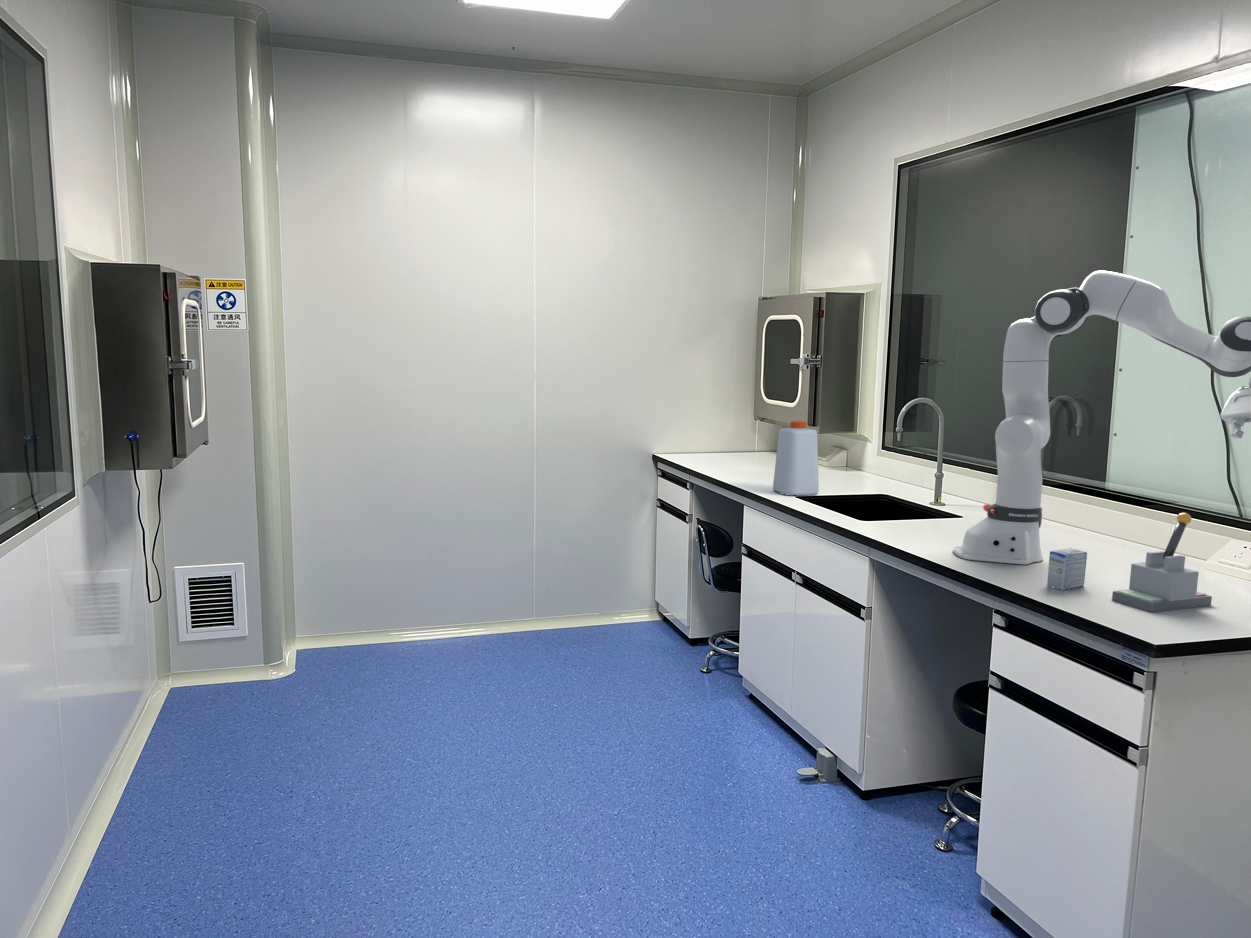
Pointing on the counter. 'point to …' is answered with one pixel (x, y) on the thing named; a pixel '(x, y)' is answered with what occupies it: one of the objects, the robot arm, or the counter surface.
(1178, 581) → the breaker block
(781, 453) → the plastic bottle
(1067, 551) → the medicine box
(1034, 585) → the counter surface
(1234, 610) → the counter surface
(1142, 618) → the counter surface
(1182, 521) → the lever
